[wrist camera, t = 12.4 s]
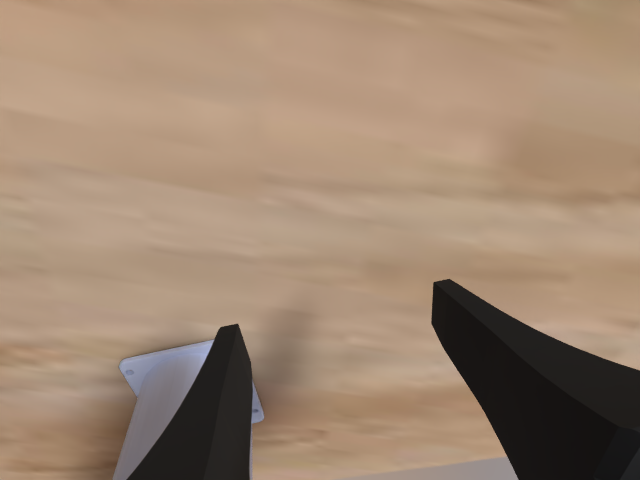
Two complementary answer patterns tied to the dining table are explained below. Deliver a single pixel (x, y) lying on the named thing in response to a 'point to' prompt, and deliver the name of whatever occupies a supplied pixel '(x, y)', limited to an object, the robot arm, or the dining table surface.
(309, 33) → the dining table surface
